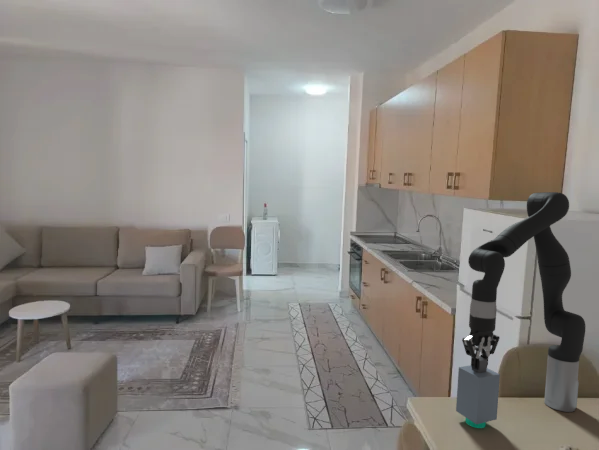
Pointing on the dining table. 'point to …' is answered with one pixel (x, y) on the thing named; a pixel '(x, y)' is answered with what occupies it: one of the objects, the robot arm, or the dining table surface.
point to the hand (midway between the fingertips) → (479, 367)
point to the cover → (478, 393)
